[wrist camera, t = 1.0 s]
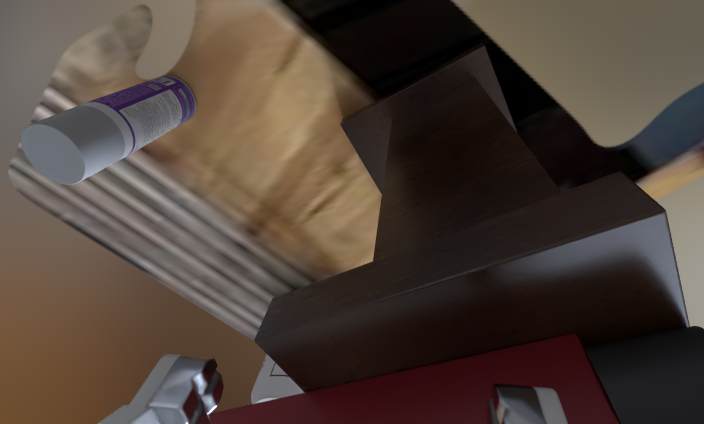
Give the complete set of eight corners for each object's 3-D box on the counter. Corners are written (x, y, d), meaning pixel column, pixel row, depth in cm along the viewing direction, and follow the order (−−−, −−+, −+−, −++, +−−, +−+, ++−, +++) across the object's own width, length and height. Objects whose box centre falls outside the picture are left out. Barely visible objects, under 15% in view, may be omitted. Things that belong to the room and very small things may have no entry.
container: (146, 102, 38) (13, 158, 25) (162, 64, 35) (24, 106, 23) (186, 130, 39) (78, 198, 26) (204, 95, 36) (94, 152, 24)
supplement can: (354, 321, 51) (335, 431, 38) (307, 336, 54) (275, 442, 41) (323, 282, 48) (292, 387, 35) (275, 299, 51) (230, 402, 38)
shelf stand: (397, 212, 41) (382, 474, 19) (342, 119, 36) (236, 324, 14) (525, 159, 35) (713, 435, 13) (481, 42, 31) (661, 177, 9)
